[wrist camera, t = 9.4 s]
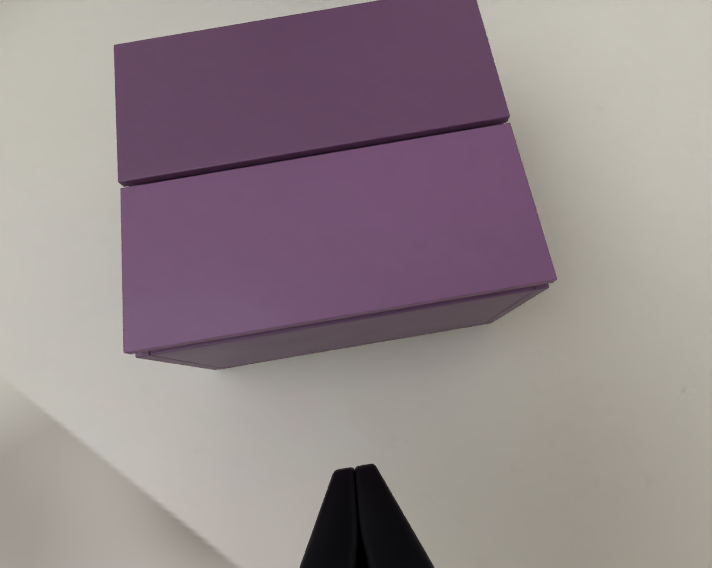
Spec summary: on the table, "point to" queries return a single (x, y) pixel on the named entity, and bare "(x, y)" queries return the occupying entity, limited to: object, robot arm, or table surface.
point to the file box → (309, 127)
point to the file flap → (328, 238)
